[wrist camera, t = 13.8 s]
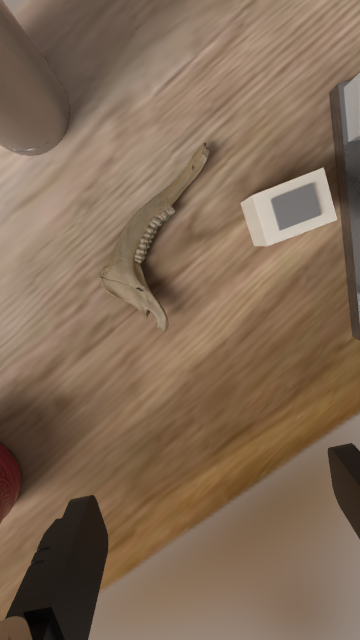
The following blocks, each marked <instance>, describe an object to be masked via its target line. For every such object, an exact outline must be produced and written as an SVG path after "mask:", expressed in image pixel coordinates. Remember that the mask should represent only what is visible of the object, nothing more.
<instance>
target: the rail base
mask: <svg viewBox="0 0 360 640" xmlns="http://www.w3.org/2000/svg"><path fill="white" fill-rule="evenodd" d="M351 81H352V80H351ZM351 81H347V82H342V83H338V84H337V85H336V86H335V87H334V88H333V89H332V90H331V91H330V92H329V95H330V105H331V116H332V126H333V137H334V147H335V158H336V168H337V178H338V189H339V199H340V210H341V220H342V231H343V241H344V252H345V262H346V273H347V283H348V294H349V304H350V314H351V325H352V335H353V337H354V338H356V339H358V340H360V140H356V141H351V142H348V130H347V119H346V107H345V96H344V87H345V86H346V85H347V84H348V83H349V82H351Z"/></svg>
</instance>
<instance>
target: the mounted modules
mask: <svg viewBox="0 0 360 640" xmlns="http://www.w3.org/2000/svg"><path fill="white" fill-rule="evenodd" d="M344 96H345V107H346V119H347V130H348V142H351V141H356V140H360V73H359V74H358V75H357V76H356V77H355V78H354V79H353V80H352V81H351V82H349V83H348V84H347V85H346V86H345V87H344Z"/></svg>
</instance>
